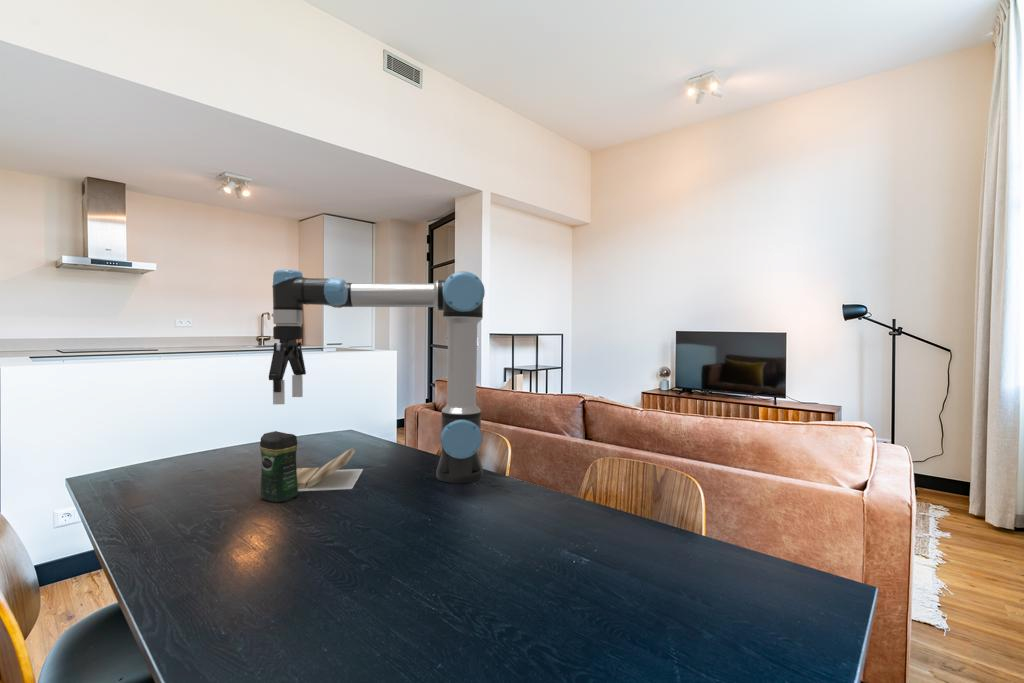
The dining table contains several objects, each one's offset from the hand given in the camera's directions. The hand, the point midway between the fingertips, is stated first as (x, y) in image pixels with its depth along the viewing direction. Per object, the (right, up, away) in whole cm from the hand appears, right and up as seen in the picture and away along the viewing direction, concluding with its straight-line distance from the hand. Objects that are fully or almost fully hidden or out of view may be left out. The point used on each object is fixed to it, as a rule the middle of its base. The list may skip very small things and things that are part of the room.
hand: (288, 400), depth 132 cm
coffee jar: (-2, -28, 0) cm, 28 cm away
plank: (+7, -23, +15) cm, 29 cm away
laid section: (-5, -27, +14) cm, 31 cm away
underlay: (+2, -27, +15) cm, 31 cm away
